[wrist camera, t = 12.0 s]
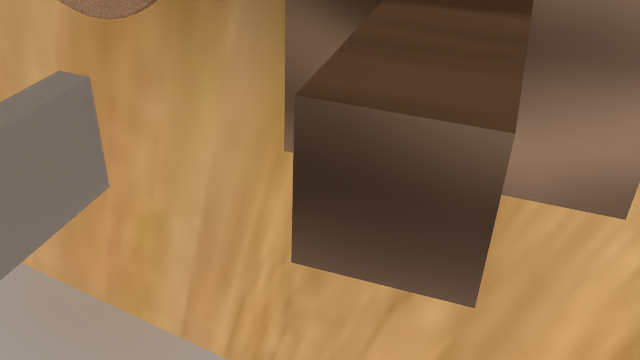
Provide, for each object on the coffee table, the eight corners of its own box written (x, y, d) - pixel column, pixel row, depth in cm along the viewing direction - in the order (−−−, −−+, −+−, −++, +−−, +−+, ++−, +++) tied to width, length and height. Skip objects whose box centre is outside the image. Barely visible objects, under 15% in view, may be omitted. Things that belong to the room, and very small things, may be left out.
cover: (373, -218, 31) (-26, -284, 10) (705, -206, 27) (1217, -270, 6) (353, 66, 39) (108, 367, 18) (607, 106, 35) (679, 550, 14)
